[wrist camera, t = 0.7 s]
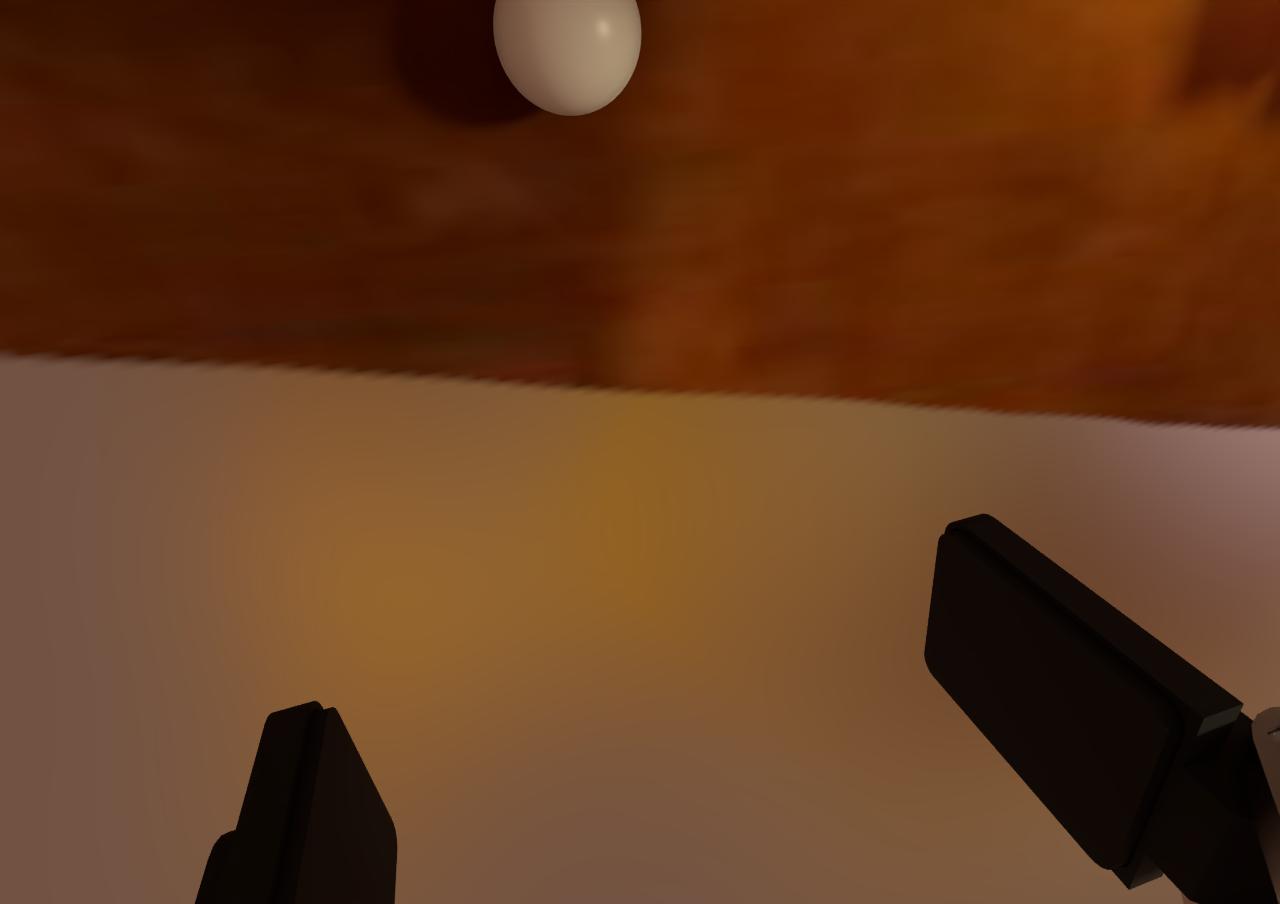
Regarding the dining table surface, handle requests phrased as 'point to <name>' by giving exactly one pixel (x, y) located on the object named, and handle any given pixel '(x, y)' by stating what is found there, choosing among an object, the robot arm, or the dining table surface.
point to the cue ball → (568, 50)
